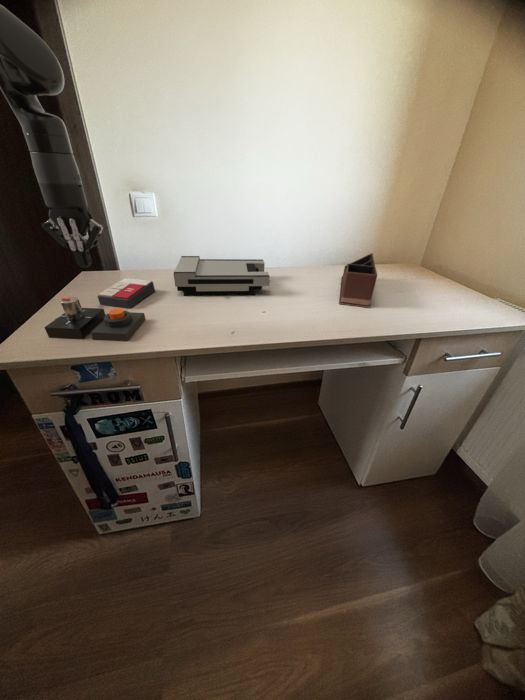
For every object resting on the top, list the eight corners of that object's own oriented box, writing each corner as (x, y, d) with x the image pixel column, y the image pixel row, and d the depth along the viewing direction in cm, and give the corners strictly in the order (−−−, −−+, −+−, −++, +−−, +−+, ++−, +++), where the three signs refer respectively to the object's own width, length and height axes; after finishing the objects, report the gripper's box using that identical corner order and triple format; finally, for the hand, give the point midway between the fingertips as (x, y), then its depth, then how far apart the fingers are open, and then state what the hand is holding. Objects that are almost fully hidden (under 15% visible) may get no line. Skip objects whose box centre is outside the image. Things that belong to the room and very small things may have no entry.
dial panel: (83, 339, 72) (79, 328, 70) (48, 337, 72) (43, 326, 70) (106, 317, 82) (103, 308, 80) (75, 316, 82) (72, 306, 80)
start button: (121, 320, 74) (119, 314, 73) (107, 320, 74) (106, 314, 73) (127, 314, 77) (125, 308, 76) (114, 314, 77) (112, 308, 76)
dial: (87, 314, 77) (81, 296, 74) (78, 321, 74) (71, 302, 71) (73, 313, 77) (66, 295, 74) (63, 319, 74) (56, 301, 71)
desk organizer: (338, 304, 96) (345, 271, 90) (341, 277, 120) (346, 250, 114) (370, 308, 94) (379, 275, 88) (366, 280, 118) (373, 252, 112)
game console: (268, 295, 100) (269, 273, 96) (176, 296, 97) (173, 273, 92) (262, 276, 117) (263, 256, 113) (184, 276, 114) (181, 256, 109)
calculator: (95, 293, 87) (124, 276, 99) (100, 306, 90) (127, 287, 102) (127, 297, 85) (153, 279, 97) (131, 310, 88) (155, 290, 100)
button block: (128, 341, 72) (124, 327, 70) (93, 339, 72) (88, 325, 70) (145, 319, 82) (142, 307, 80) (115, 318, 82) (111, 305, 80)
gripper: (12, 179, 53) (46, 270, 63) (82, 183, 53) (105, 273, 63) (40, 178, 60) (67, 261, 69) (102, 181, 60) (121, 263, 69)
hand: (85, 266), depth 66 cm, fingers closed
